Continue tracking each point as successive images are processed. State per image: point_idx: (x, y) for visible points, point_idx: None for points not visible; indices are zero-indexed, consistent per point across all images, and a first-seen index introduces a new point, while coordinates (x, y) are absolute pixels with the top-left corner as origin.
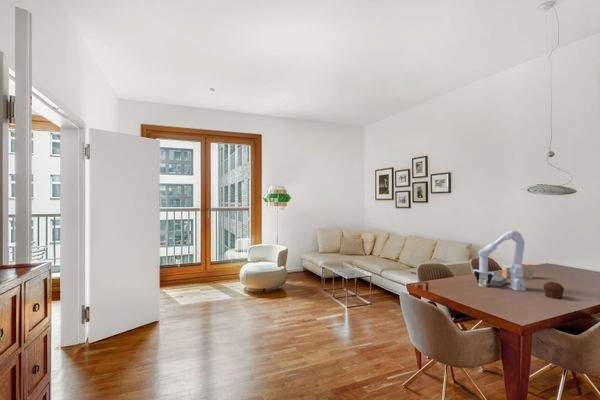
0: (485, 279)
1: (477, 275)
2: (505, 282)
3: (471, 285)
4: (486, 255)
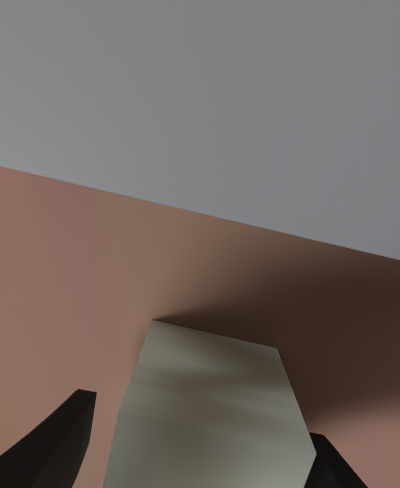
0: (238, 462)
1: None
2: None
3: None
4: None
